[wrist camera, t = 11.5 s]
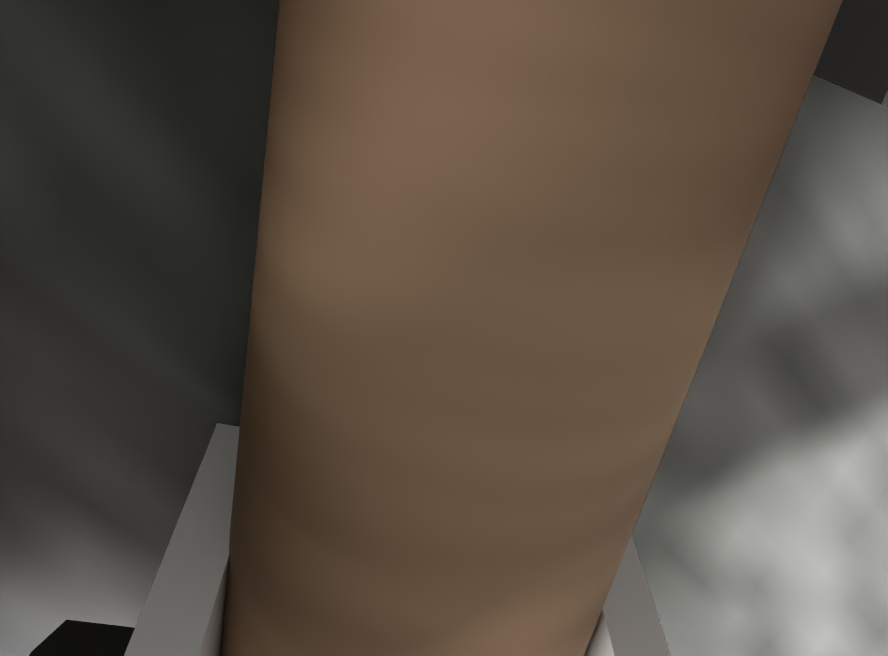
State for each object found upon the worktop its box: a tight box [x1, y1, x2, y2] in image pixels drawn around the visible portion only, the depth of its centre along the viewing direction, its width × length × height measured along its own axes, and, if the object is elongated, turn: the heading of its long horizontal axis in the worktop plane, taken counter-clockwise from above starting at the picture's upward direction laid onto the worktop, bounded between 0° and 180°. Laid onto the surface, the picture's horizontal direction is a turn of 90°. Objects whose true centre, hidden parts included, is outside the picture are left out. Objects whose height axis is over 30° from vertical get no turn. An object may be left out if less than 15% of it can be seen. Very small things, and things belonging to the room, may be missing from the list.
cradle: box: [813, 0, 888, 105], centre depth 13 cm, size 22×13×3 cm, turn 169°
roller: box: [220, 0, 843, 656], centre depth 11 cm, size 22×5×5 cm, turn 169°
